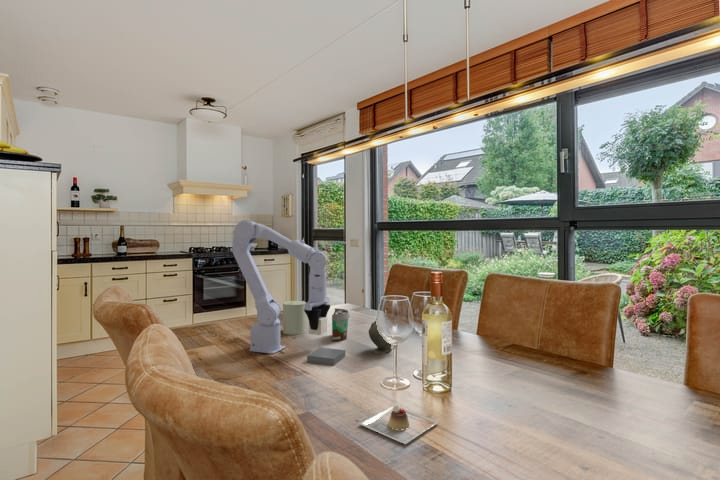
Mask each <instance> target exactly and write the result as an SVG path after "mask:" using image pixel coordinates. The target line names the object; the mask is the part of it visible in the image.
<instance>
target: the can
mask: <svg viewBox="0 0 720 480" xmlns="http://www.w3.org/2000/svg"><path fill="white" fill-rule="evenodd" d="M306 303H307V302H306V301H305V300H304V301H303V300H287V301H284V302H282V333H283V334H284V335H290V336H294V335H295V336H296V335H302V334H305V333H307V319H306V318H307V315H306V313H305V311H304V308H305V304H306Z"/></svg>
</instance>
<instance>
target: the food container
mask: <svg viewBox="0 0 720 480" xmlns="http://www.w3.org/2000/svg"><path fill="white" fill-rule="evenodd" d="M350 318H351V314H350V312H349V310H348V309H344V308H334V311H333V314H331V326H332V327H331V334H332V335H331V338H332V341H331V343H332V342H334V343H336V342H342V341H346V340H347V339H348V338H347V337H348V325H349V324H348V323H349V319H350Z"/></svg>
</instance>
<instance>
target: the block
mask: <svg viewBox="0 0 720 480" xmlns="http://www.w3.org/2000/svg"><path fill="white" fill-rule="evenodd" d="M327 332H328V317H327V316H326V317H319V322H318V329H317V330H312V329H311V328H310V323H309V322H308V335H315V336H322V335H325V334H326V333H327Z"/></svg>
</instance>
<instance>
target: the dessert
mask: <svg viewBox="0 0 720 480" xmlns="http://www.w3.org/2000/svg"><path fill="white" fill-rule="evenodd" d="M392 410H393V411H392ZM390 411H392V412H391V413H390V417H389V420H388V423H387V426H388V425H389V427H391V428H393V429H398V430H401V429H406V428H408V427H409V425H410V422H409V419H408V417H409V416H407V414H410V415H412V416H415V417H418V418H422V419H424V420H428V421H430V422H434V424H432V425H431V426H429V425H428V426H429V427H428V426H426V427H427V428H426V427H425V428H426V429H425V428H424V429H425V430H423V429H422V430H423V431H422V430H420V431H421V432H420V431H419V432H420V433H419V432H417V433H418V434H417V433H416V434H417V435H416V434H414V435H415V436H414V435H413V436H414V437H413V436H411V437H412V438H411V437H410V438H411V439H410V438H408V439H409V440H408V439H407V440H408V441H407V440H405V441H406V442H405V441H402V440H400V439H398V438H395V437H393V436H390V435H389V434H387V433H384V432H382V431H380V430H377V429H375V428H372V427H370V426H369V425H368V424H370V425H371V424H373V423H375V422H376V420H377V421H379V420H380V419H381V418H380V417H382V416H384V415H385V414H387V413H389V412H390ZM406 413H407V414H406ZM384 417H385V416H384ZM379 418H380V419H379ZM382 418H383V417H382ZM378 419H379V420H378ZM438 423H439V421H438V420H435V419H432V418H429V417H427V416H424V415H422V414H419V413H417V412H413V411H410V410H409V409H406V408H403V407H401V406H400V407H399V405H398V404H397V405H396V404H395V405H394V404H393V405H391V406H389V407H386V408H385V409H383V410H381V411H379V412H378V413H376V414H374V415H372V416H370V417H368V418H366V419H364V420H362V421H360V422H358V425H360V426H362V427H364V428H367V429H369V430H371V431H373V432H375V433H377V432H378V434H380V435H383V436H385V437H387V438H389V439H391V440H394V441H396V442H398V443H400V444H402V443H403V445H407V444H409V443H410V442H411V441H413V440H415V439H416V438H418V437H419V436H420V435H421V436H422V434H424V433H425V432H427V431H428V430H429V429H431V428H433V427H434V426H436V425H438ZM367 425H368V426H367ZM389 427H388V428H389ZM391 428H390V429H391ZM409 428H410V427H409ZM409 428H408V429H409ZM393 429H392V430H393Z"/></svg>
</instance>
